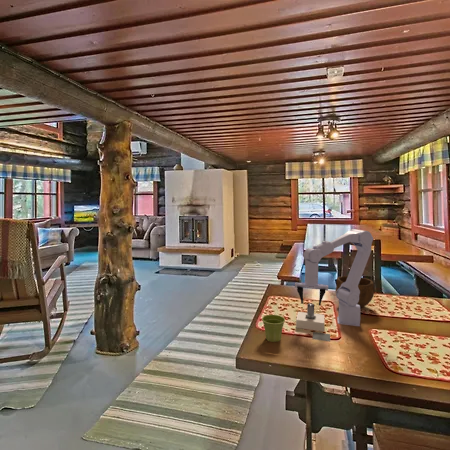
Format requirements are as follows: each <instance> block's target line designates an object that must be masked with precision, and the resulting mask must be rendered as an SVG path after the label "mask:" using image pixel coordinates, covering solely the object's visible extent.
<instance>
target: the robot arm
mask: <svg viewBox="0 0 450 450" xmlns="http://www.w3.org/2000/svg"><path fill="white" fill-rule="evenodd" d="M373 241H374V237H373V235H372V233H371V232H370V231H368V230H362V229H357V228H352V229H350V230H347V231H346V232H345V233H344V234H342V235H340V236H338V237H336V238H335V239H333V240H331V241H329V240H323V241H321V243H319V244H317V245H313V246H312V247H308V248H306V249H305V250H304V251H303V254H302V257H303V259H304V261H305V262H304V265H305V267H304V282H295V283H294V288H295V289H296V290H297V293H298V296H299V298H300V303H301V304H303V305H304V289H309V290H310V289H311V290H319V297H318V298H319V300H318V306H319V307H320V306H322V305H321V303H322V300H323V298H324V296H325V295H326V291H329V285H327V284H321V283H319V262H320V261H321V260H322V258H324V257H326V256H328V255H330V254H331V253H334V250H335V249H336V248H338V247H341V246H343V245H346V244H348V243H351V244H353V246H355V248H356V249H355V250H356V255H355V256H354V259H353V262H352V264H351V267H350V270H349V272H348V274H347V276H348V277H347V280H346V282H344V283H342V284H341V286H340V288H339V289H338V290H337V292H336V291H335V296H336V298H337V299H338V316H337V317H336V319H337V324H339V325H344V326H345V325H346V326H354V327H361V325H360V324H361V307H360V305H357V303H358V302H359V294H360V290H359V288H358V284H359V282H360V279H361V278H363V277H362V276H363V274H364V271H365V269H366V266H367V263H368V261H369V258H370V255H371V253H372V244H373Z"/></svg>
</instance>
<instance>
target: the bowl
mask: <svg viewBox="0 0 450 450" xmlns="http://www.w3.org/2000/svg"><path fill="white" fill-rule="evenodd" d="M347 277H348V275H342V276H338V277H337V278H336V287H335V293H336V292H337V290H338V289H339V288H340V286H341V284H342V283H344V282H346V280H347ZM374 285H375V283H374V281H373V280H372V279H369V278H366V277H361V279H360V282H359V284H358V288H359V290H360V294H359V302H358V303H357V305H360V308H364V307H365V306H368V305H369V304H370V303H371V301H372V300H373V298H374V295H375V292H374Z"/></svg>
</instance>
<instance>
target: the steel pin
mask: <svg viewBox="0 0 450 450" xmlns="http://www.w3.org/2000/svg"><path fill="white" fill-rule="evenodd" d="M306 307H307V308H306V311H307V312H306V313H307V319H314V314H315V303H310V302H309V303H307V304H306Z"/></svg>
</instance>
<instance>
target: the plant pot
mask: <svg viewBox="0 0 450 450" xmlns="http://www.w3.org/2000/svg"><path fill="white" fill-rule="evenodd" d="M261 320H262V322H263V327H264V333H265V339H266V341H268V342H271V343H275V342H276V343H277V342H280V341H281V340H282V334H283V327H284V324H285V322H286V318H285V317H283V316H282V315H279V314H266V315H263V316H262V318H261Z"/></svg>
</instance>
